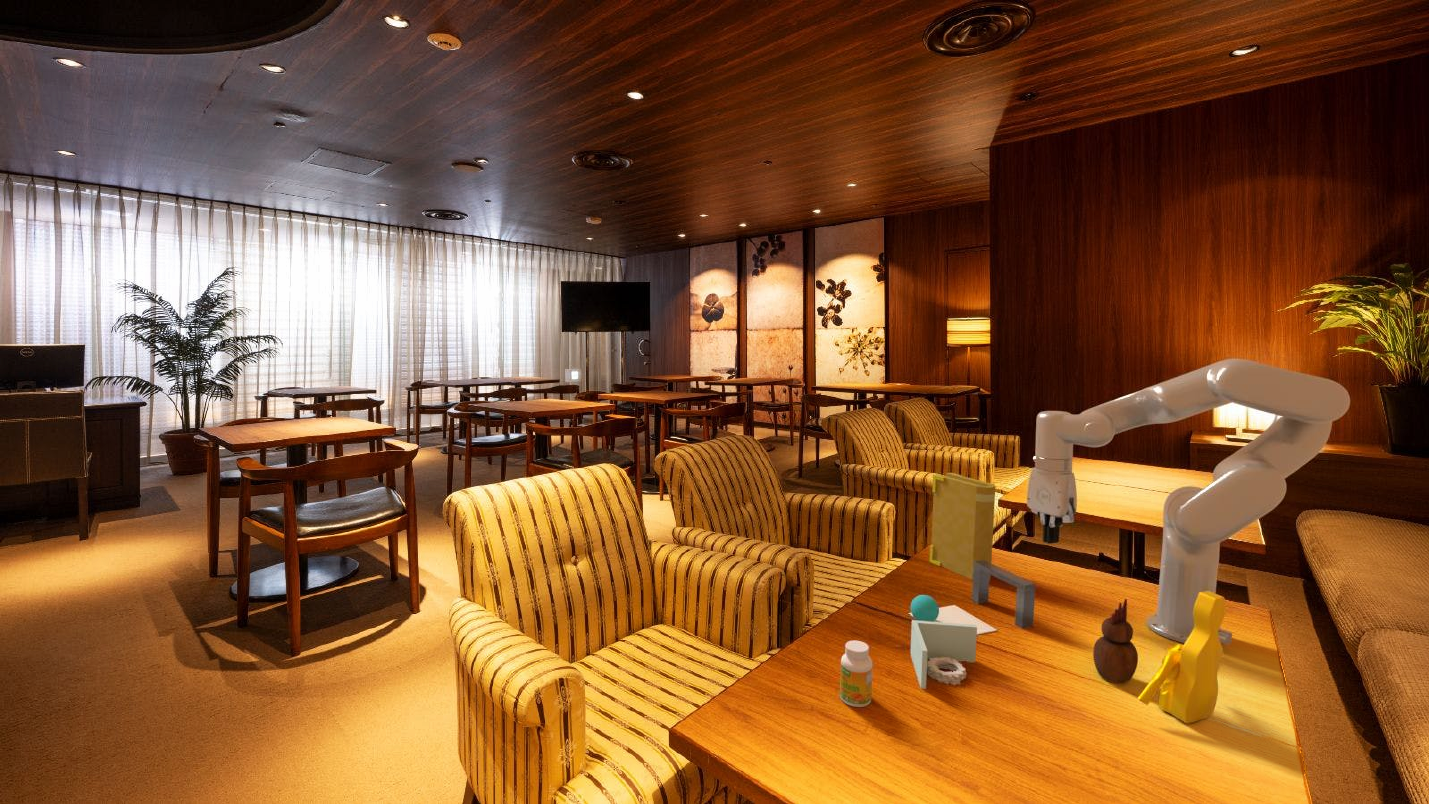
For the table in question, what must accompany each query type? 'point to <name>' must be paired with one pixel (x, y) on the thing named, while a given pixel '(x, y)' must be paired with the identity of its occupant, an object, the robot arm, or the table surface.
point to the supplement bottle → (856, 674)
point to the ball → (924, 608)
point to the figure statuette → (1192, 666)
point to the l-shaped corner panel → (942, 650)
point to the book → (961, 523)
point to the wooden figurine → (1116, 648)
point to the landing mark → (961, 618)
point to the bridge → (1023, 586)
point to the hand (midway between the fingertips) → (1050, 541)
